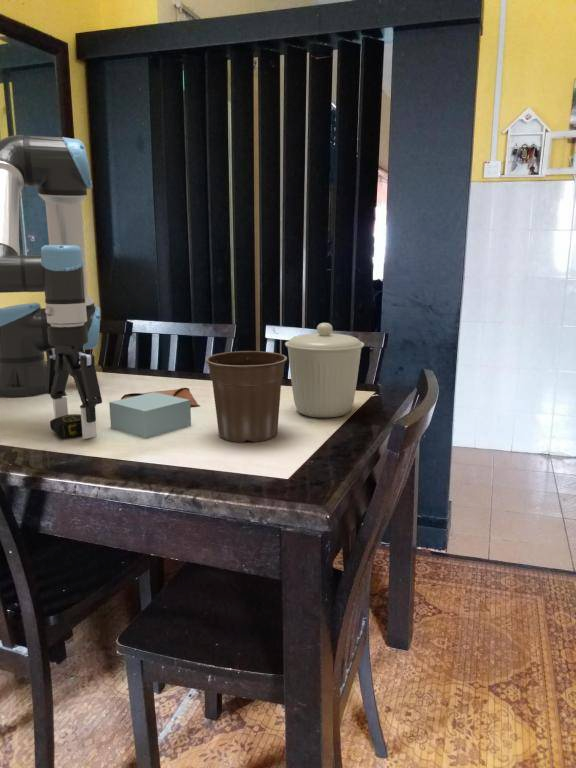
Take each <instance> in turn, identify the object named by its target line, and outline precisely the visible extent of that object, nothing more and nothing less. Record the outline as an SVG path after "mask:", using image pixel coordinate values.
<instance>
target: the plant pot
mask: <svg viewBox="0 0 576 768" xmlns="http://www.w3.org/2000/svg"><path fill="white" fill-rule="evenodd" d="M287 361H288V357H287V356H286V355H285V354H281V353H278V352H270V351H262V350H261V351H257V350H238V351H228V352H220V353H215V354H212V355H209V356H207V357H206V358H205V362H206V364H207V365H208V371H209V377H210V380H211V382H212V389H213V396H214V406H215V413H216V414H215V415H216V421H217V422H216V423H217V431H218V435H219V437H220V438H222V439H224V440H226V441H229V442H236V443H245V442H246V441H251V442H252V443H257V442H265V441H267V440H270V439H272V438H274V437H276V436H277V434H278V431H279V430H278V429H279V417H280V416H279V414H280V402H281V401H280V400H281V393H282V392H281V391H282V390H281V389H282V380H283V378H284V374H285V373H284V372H285V363H286V362H287Z"/></svg>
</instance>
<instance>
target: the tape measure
mask: <svg viewBox="0 0 576 768" xmlns="http://www.w3.org/2000/svg"><path fill="white" fill-rule="evenodd" d="M49 426H50V429H51V431H52V432H54V433H55V434H56V435H57V436H58V437H59V438H62V439H64V438H68V437H75V436H76V437H77V436H81V435H82V422H81V413H79V414H78V413H75V414H74V413H73V414H71V413H70V414H68V415H65V416H62V417H58V418H55V417H54V418H53V419H51V420H50V422H49Z"/></svg>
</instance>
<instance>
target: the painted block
mask: <svg viewBox="0 0 576 768" xmlns="http://www.w3.org/2000/svg"><path fill="white" fill-rule="evenodd" d="M152 392H153V393H148V392H147V393H148V394H144V395H139V396H135V397H130V398H126V399H121V398H120V399H117V400H112V401H109V418H110V419H109V420H110V428H111V429H114V430H116V431H120V432H123V433H126V434H130V435H132V436H136V437H140V438H143V439H146V440H147V439H150V438H154V437H157V436H160V435H163V434H166V433H170V432H174V431H177V430H180V429H185V428H188V427H190V426H192V418H191V417H192V414H191V413H192V412H191V407H190V400H188V399H183V398H179V397H174V396H170V395H165V394H161V393H156V391H152Z"/></svg>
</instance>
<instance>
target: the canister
mask: <svg viewBox="0 0 576 768" xmlns="http://www.w3.org/2000/svg"><path fill="white" fill-rule="evenodd" d="M316 331H317V333H306V334H300V335H297V336H295V335H294V336H293V337H291V338H290V339H289V340H287V341H285V343H284V345H285V347H286V348H287V352H288V361H289V372H290V380H291V382H290V383H291V388H292V389H291V390H292V396H293V402H294V406H295V408H296V409H297V411H298V412H299V413H301V415H304V416H307V417H313V418H324V419H325V418H337V417H341V416H345V415H347V414H348V413H349V412H350V411H351V410H352V408H353V405H354V401H355V396H356V389H357V383H358V376H359V368H360V367H359V366H360V362H361V361H360V360H361V353H362V348H364V346H365V343H364V342H363V341H360V339H359V338H357V337H354V336H353V335H349V334H341V333H340V334H339V333H333V326H332V324H331V323H329V322H321V323H319V324H318V325H317V326H316Z"/></svg>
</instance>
